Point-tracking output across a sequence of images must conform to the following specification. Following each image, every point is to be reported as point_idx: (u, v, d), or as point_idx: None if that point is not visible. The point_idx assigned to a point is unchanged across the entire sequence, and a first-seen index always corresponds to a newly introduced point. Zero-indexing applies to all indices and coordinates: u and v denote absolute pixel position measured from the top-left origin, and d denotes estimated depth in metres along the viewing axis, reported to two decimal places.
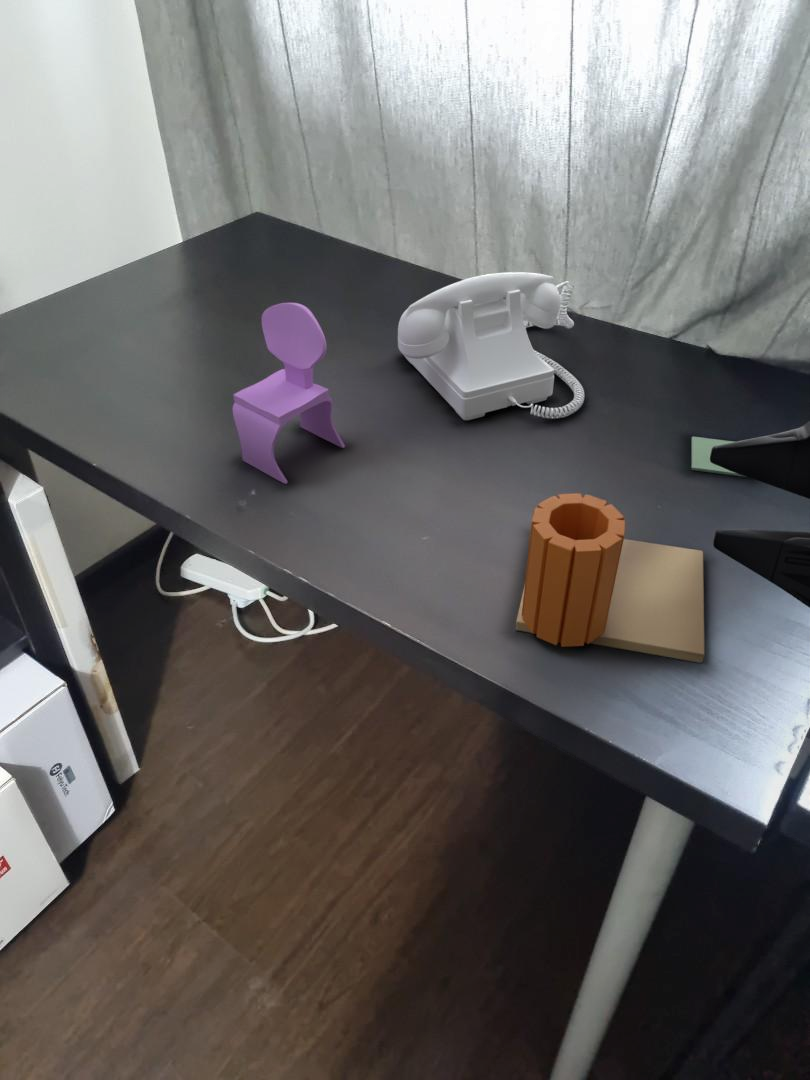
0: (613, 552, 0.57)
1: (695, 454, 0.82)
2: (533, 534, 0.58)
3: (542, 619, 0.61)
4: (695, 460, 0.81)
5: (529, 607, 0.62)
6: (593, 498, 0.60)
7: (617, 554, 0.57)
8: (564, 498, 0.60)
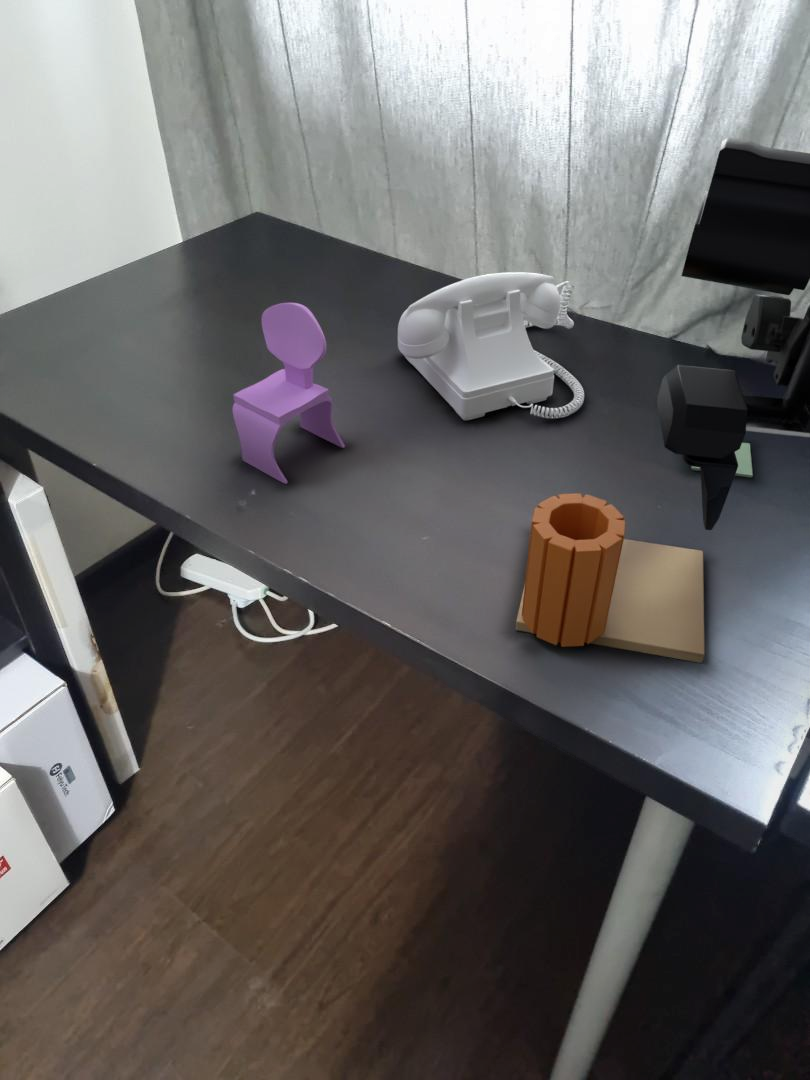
0: (613, 552, 0.57)
1: None
2: (533, 534, 0.58)
3: (542, 619, 0.61)
4: None
5: (529, 607, 0.62)
6: (593, 498, 0.60)
7: (617, 554, 0.57)
8: (564, 498, 0.60)
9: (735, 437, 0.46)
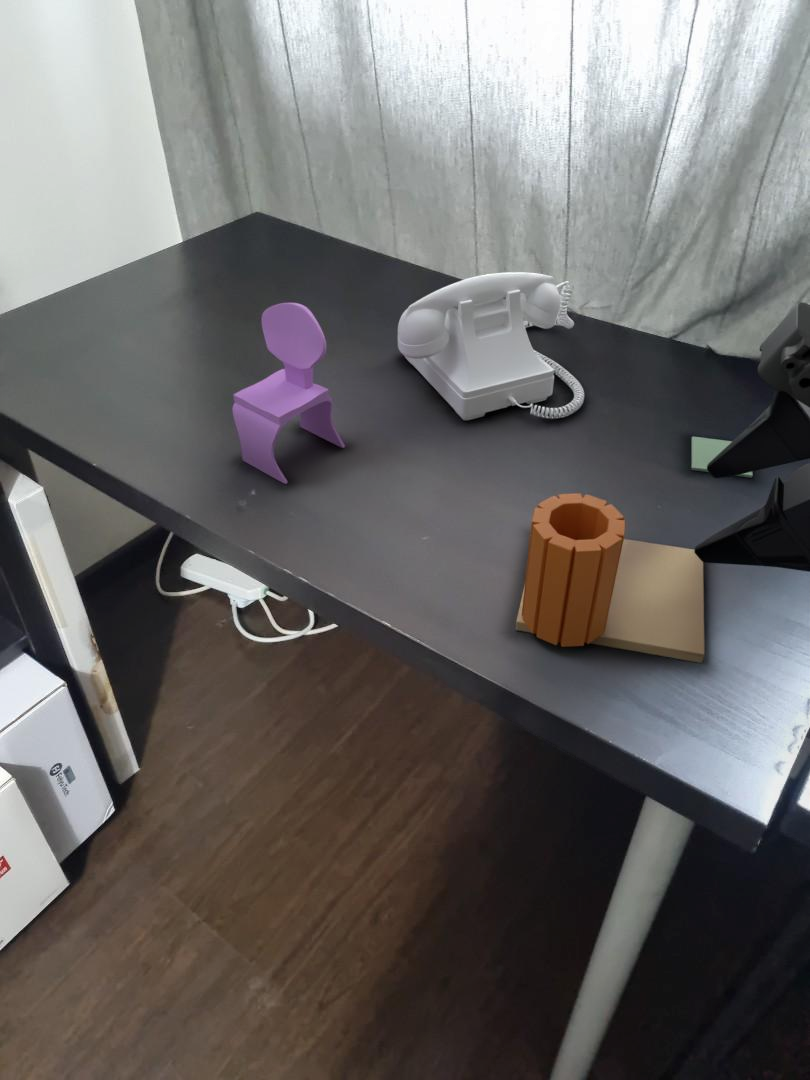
0: (613, 552, 0.57)
1: (695, 454, 0.82)
2: (533, 534, 0.58)
3: (542, 619, 0.61)
4: (695, 460, 0.81)
5: (529, 607, 0.62)
6: (593, 498, 0.60)
7: (617, 554, 0.57)
8: (564, 498, 0.60)
9: None
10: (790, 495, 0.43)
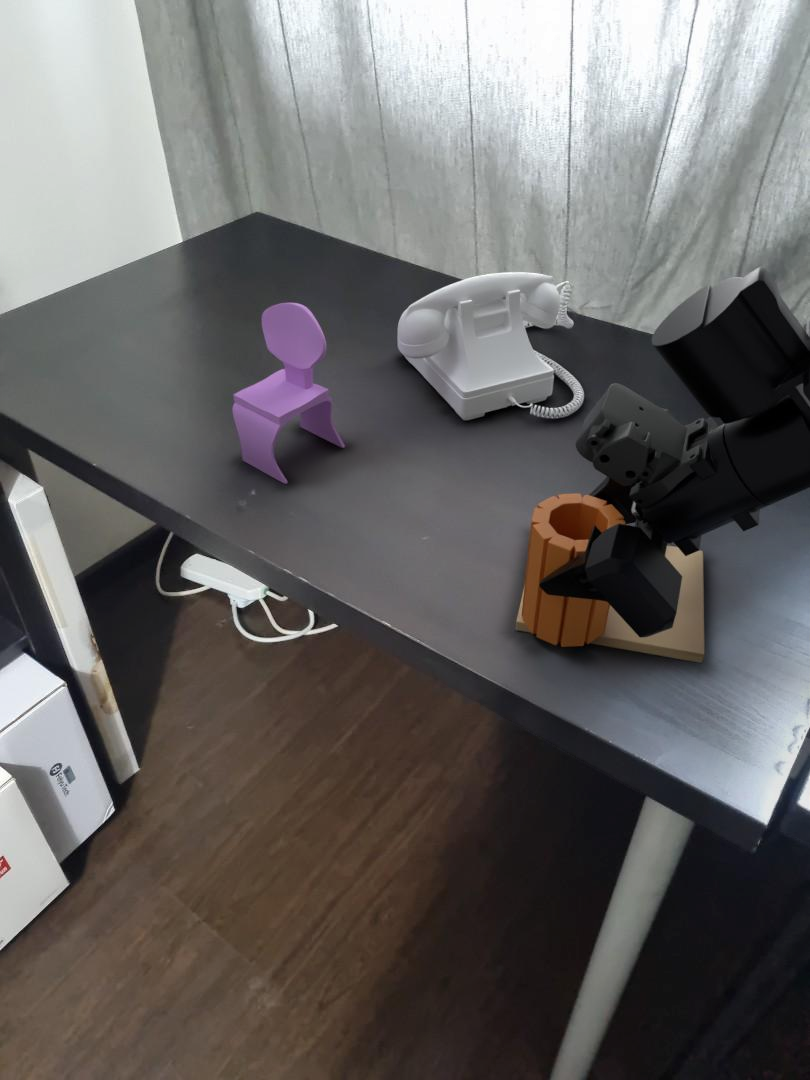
0: None
1: None
2: (533, 534, 0.58)
3: (542, 619, 0.61)
4: None
5: (529, 607, 0.62)
6: (593, 498, 0.60)
7: None
8: (564, 498, 0.60)
9: None
10: (593, 555, 0.50)
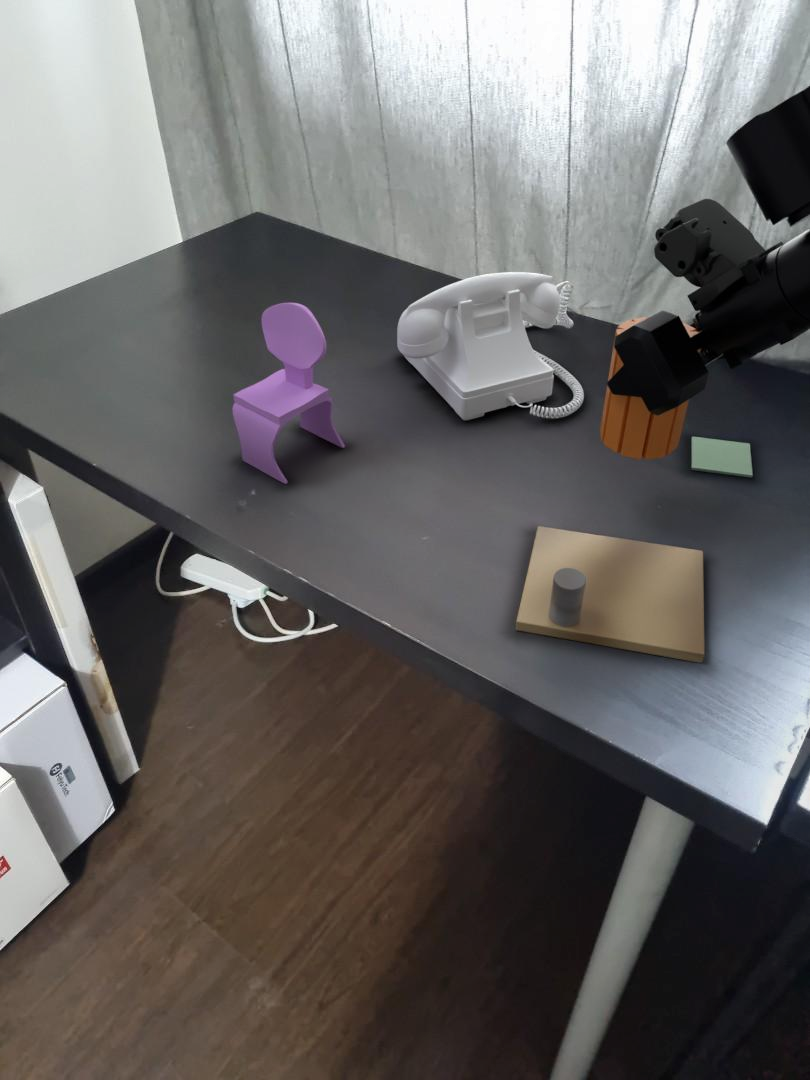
0: None
1: (695, 454, 0.82)
2: None
3: (609, 424, 0.68)
4: (695, 460, 0.81)
5: (603, 414, 0.69)
6: (685, 325, 0.65)
7: None
8: None
9: None
10: None
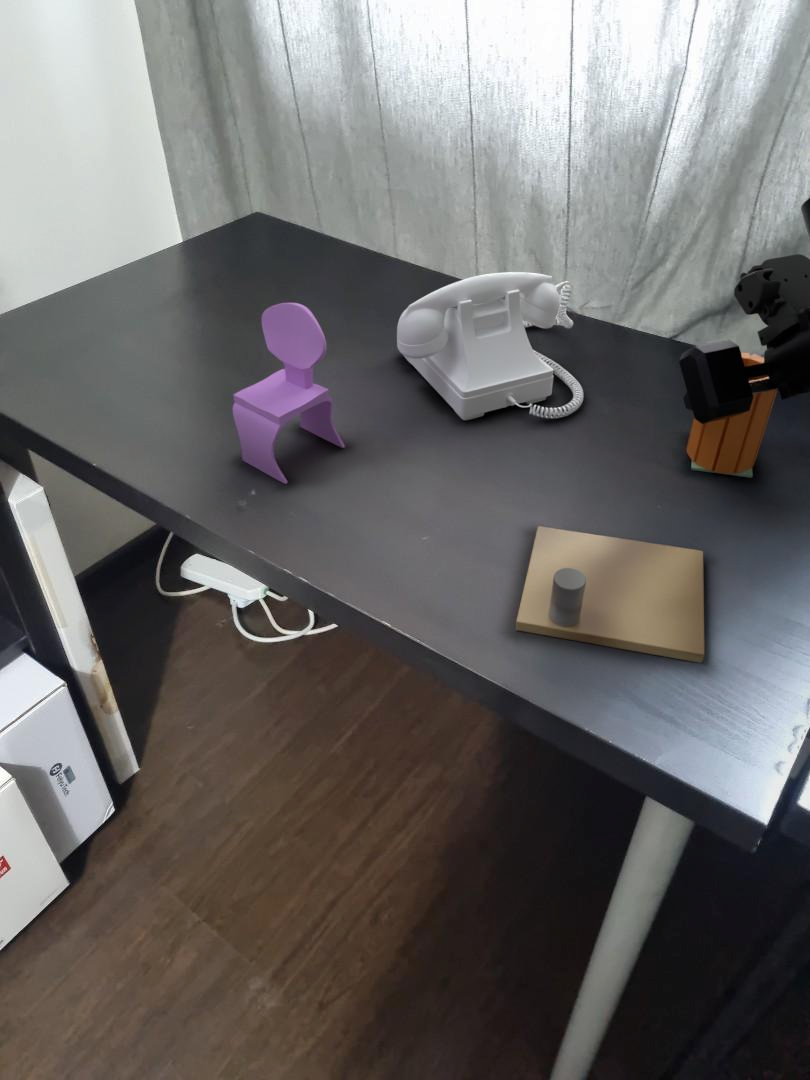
0: None
1: None
2: None
3: (692, 436, 0.80)
4: None
5: None
6: None
7: None
8: (754, 356, 0.77)
9: (742, 412, 0.68)
10: None
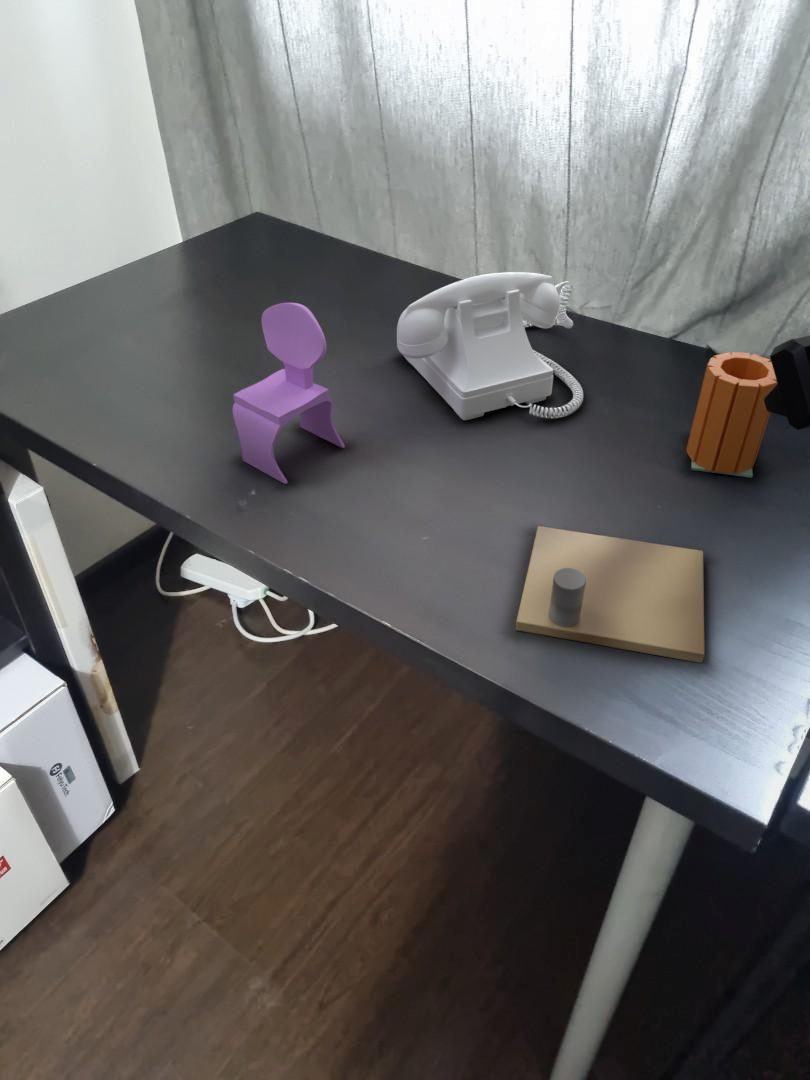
0: (748, 395, 0.73)
1: None
2: None
3: (692, 436, 0.80)
4: None
5: None
6: None
7: (752, 399, 0.74)
8: (754, 356, 0.77)
9: None
10: None
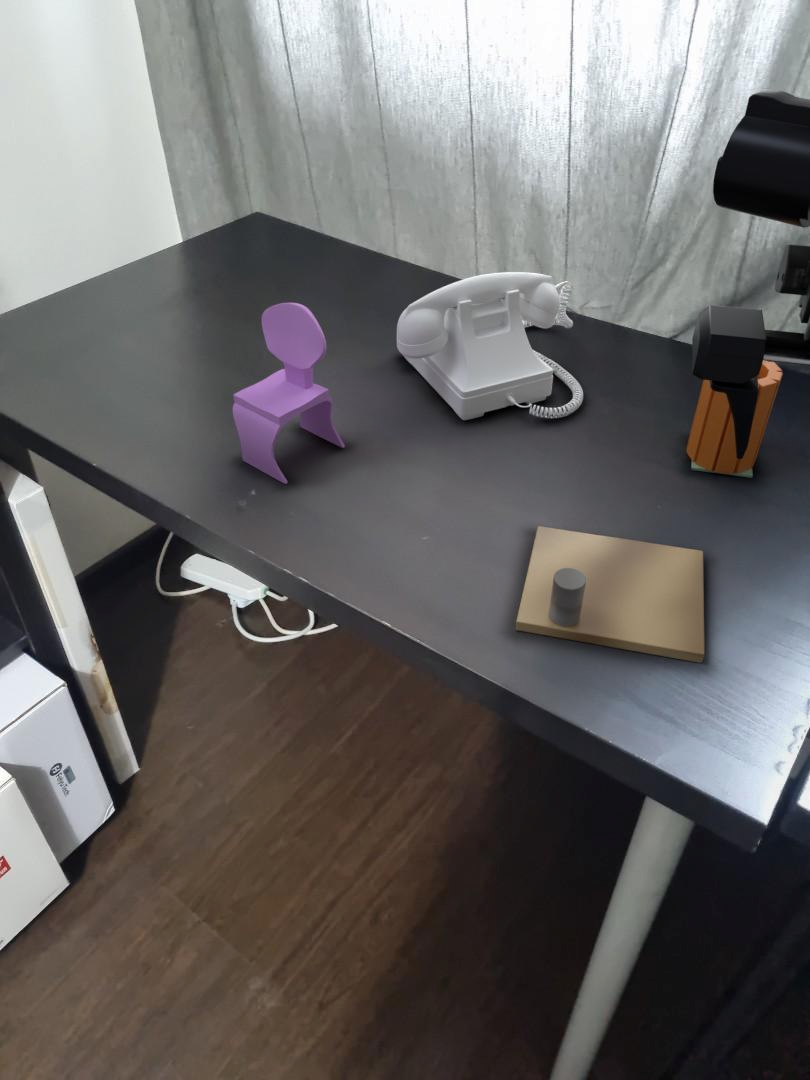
0: None
1: None
2: None
3: (692, 436, 0.80)
4: None
5: None
6: (774, 365, 0.76)
7: None
8: None
9: (754, 363, 0.52)
10: None
